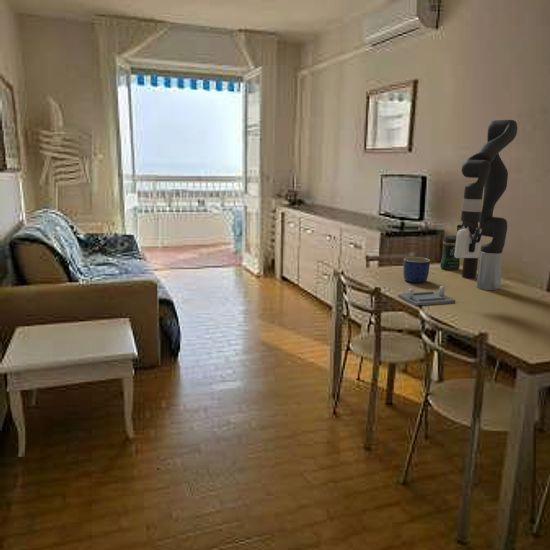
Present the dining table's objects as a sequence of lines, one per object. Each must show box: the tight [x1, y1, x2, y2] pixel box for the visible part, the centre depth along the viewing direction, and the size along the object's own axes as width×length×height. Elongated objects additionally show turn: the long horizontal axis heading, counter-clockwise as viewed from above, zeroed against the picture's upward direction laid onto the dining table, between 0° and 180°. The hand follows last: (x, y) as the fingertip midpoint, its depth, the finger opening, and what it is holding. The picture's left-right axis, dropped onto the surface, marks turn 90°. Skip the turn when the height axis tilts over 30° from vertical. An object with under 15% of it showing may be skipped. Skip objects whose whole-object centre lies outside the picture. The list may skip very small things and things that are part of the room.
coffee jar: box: [439, 235, 461, 271], centre depth 262 cm, size 10×8×19 cm
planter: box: [403, 256, 431, 284], centre depth 237 cm, size 12×12×11 cm
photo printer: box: [454, 228, 483, 259], centre depth 199 cm, size 10×4×12 cm, turn 98°
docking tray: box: [397, 285, 456, 307], centre depth 206 cm, size 19×14×5 cm
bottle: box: [461, 258, 479, 279], centre depth 244 cm, size 7×7×20 cm
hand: (467, 250), depth 200 cm, fingers closed on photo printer, 4 cm apart
